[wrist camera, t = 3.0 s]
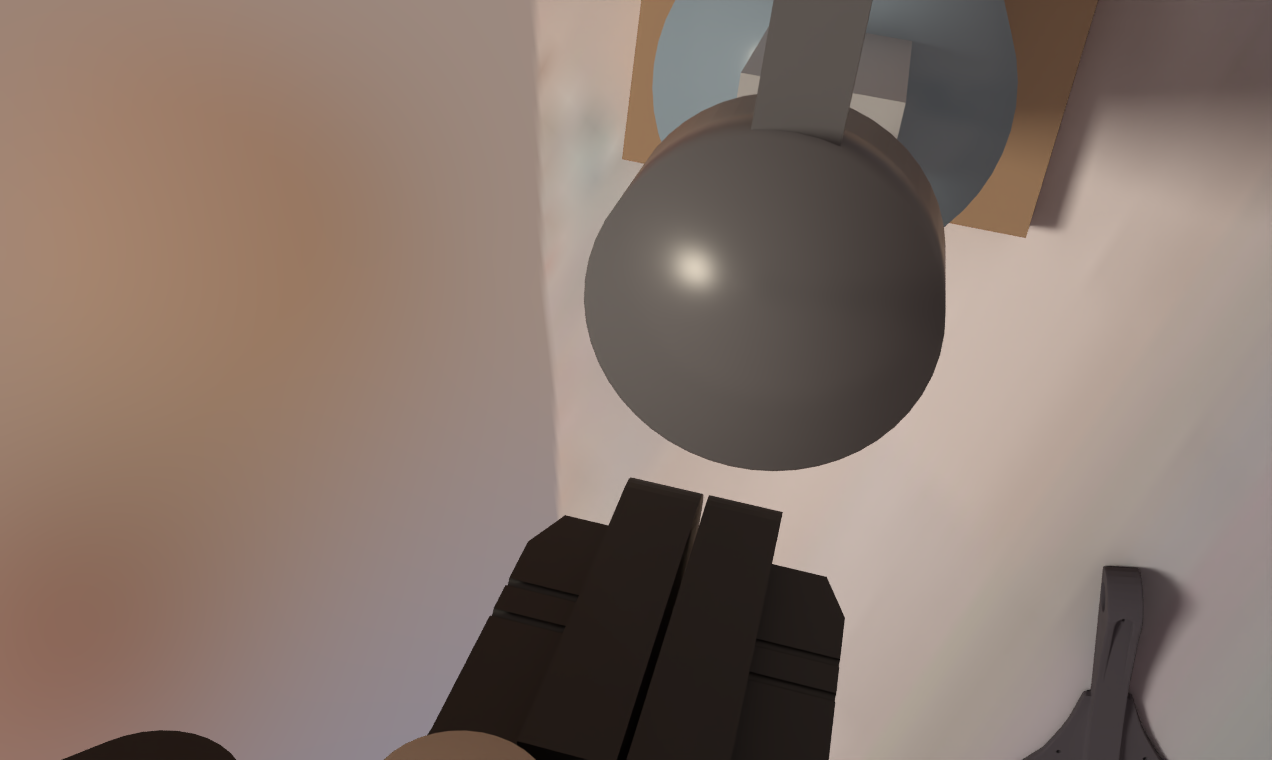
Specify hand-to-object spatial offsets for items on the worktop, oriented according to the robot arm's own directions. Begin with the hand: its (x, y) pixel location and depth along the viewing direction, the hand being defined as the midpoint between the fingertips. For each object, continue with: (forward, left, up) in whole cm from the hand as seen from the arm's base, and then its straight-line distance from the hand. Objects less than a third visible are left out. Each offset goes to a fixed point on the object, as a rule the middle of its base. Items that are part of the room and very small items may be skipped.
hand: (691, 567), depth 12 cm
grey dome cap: (0, -2, -13) cm, 13 cm away
